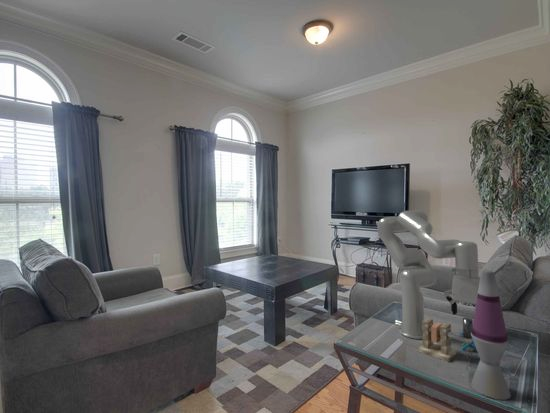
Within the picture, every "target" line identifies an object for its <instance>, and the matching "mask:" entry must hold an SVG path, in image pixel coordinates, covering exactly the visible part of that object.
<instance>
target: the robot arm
mask: <svg viewBox="0 0 550 413" xmlns="http://www.w3.org/2000/svg"><path fill="white" fill-rule="evenodd" d="M376 228H377V234H378V237H379V239H380V240H381V241H382V243H383V245H384V246H385V247H386V249H387V251H388V254H389V255H390V257H391V260H392V261H393V264H394V265H395V267H397V268H399V269H403V270H402V271H401V272H400V273H399V284H400V287H401V301H402V302H401V303H402V304H401V306H402V310H401V311H402V312H401V313H402V315H401V316H402V320H399V319H395V322H394V323H395V326H398V327H400V328H399V331H400V332H399V333H400V335H402V336H404V337H406V338H409V339H414V340H423V330H422V325H423V321H424V320H425V307H424V306H425V304H424V303H425V302H424V300H425V299H424V295H423V293H422V292H421V290H420V289H422V288H428V287H432V286H434V285H435V284H436V283H437V276H436V272H435V271H434V268H433V267H432V265H431V263H430V262H429V260H428V259H427V257H426V255H425V254H424V253H423V251H424V252H425V253H426V254H427V255H429V256H430V257H432V258H435V259H439V260H440V259H441V260H442V259H451V258H453V259H454V258H455V259H454V260H455V264H454V265H455V267H453V268H451V272H452V273H454V275H453V276H452V285H451V289H447V290H445V291H443V295H444V296H445V299H446V300H447V301H448V302H449V304H450V308H451V309H450V310H451V312H452V315H454V316H455V315H456V314H457V313H458V304H457V302H459V303H465V304H469V305H473V306H474V305H475V306H476V302H477V296H478V287H479V282H480V274H479V254H478V252H479V251H478V249H479V248H478V244H477V243H476V242H473V241H461V240H458V239H439V240H438V239H435V238H434V237H432V236H431V234H432V232H433V226H432V224H431V223H429V218H428V215H427V214H426V212H424V211H423V210H404V211H401V212H400V213H399V214H398V216H386V217H382V218H380V219H379V221H378V222H377V227H376ZM405 232H406V233H407V232H409V233H410V234H412V235H413V236H414V237H415V238H416V240H417V241H416V242H417V243H418V245H419V247H420V249H421V250H422V251H421V250H420V249H418V248H413V247H412V248H407V246H405V244H404V242H403V240H402V239H401V238H400V237H399V236H398V235H397V234H395V233H405ZM450 294H451V296H450Z"/></svg>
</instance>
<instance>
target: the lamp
mask: <svg viewBox="0 0 550 413" xmlns="http://www.w3.org/2000/svg"><path fill="white" fill-rule="evenodd" d="M479 277H480V282H479V287H478V296H477V302H476V305H475V308H474V309H475V310H474V315H473V316H474V317H473V327H472V332H471V336H472V340H473V341H474V344H475V347H476V348H475V347H474V348H475V350H476V349H477V350H476V351H477V354H478V356H479V359H480V360H479V362H478V365H477V367H476V370H475V372H474V375H473V377H472V379H471V383H470V384H471V385H470V386H471V387H472V389H473V388H474V389H475V390H474V389H473V390H474V391H475V392H477V391H478V392H479V393H478V392H477V393H478V394H480V393H481V394H480V395H482V394H484V395H486V396H489V397H491V398H490V399H492V398H494V400H497V399H498V401H499V400H500V401H506V400H509V399H510V398H511V396H512V395H511V391H510V389H509V386H508V384H507V381H506V379H505V376H504V373H503V371H502V367H501V364H500V363H501V361H502V358H503V356H504V354H505V351H506V349H507V347H508V345H509V342H510V341H509V339H508V335H507V330H506V329H507V328H506V324H505V320H504V313H503V309H502V305H501V304H502V303H501V299H500V293H499V289H498V283H497V278H496V275H495V272H494V271H493V270H489V269H483V270H481V271H480V275H479ZM484 395H483V396H484ZM486 396H485V397H486ZM489 397H488V398H489Z"/></svg>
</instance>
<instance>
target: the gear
mask: <svg viewBox="0 0 550 413" xmlns="http://www.w3.org/2000/svg"><path fill="white" fill-rule="evenodd" d="M460 335H463V331H461V332H460ZM461 346H462V347H461V348H460V349H461V350H462V351H465V350H466V349H467V348H468V347H471V346H472V348H474V349H475V350H476V351H477V349H476V347H475V344H474V341H473V339H472V343H471V344H469V343H466V342H462V344H461Z"/></svg>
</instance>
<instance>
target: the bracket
mask: <svg viewBox="0 0 550 413" xmlns="http://www.w3.org/2000/svg"><path fill="white" fill-rule="evenodd" d="M432 325H434V319H433V318H430V317H427V318H426V319H424V321H423V339H422V343H421V344H420V345H419V346H418V347H417V352H419V353H422V354H425V355H428V356H430V357H433V358H436V359H439V360H442V361H444V362H448V363H449V362H450V361H451V360H452V359H453V358H454V357H455V356H456V355H457V354H458V349H456V348H453V347H452V338H448V337H447V331H449V332H452V324H451V323H449V322H444V323H443V324H442V326H440V337H441V340H440V344H439V343H438V342H437V343H434V342H431V332H429V326H432Z"/></svg>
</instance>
